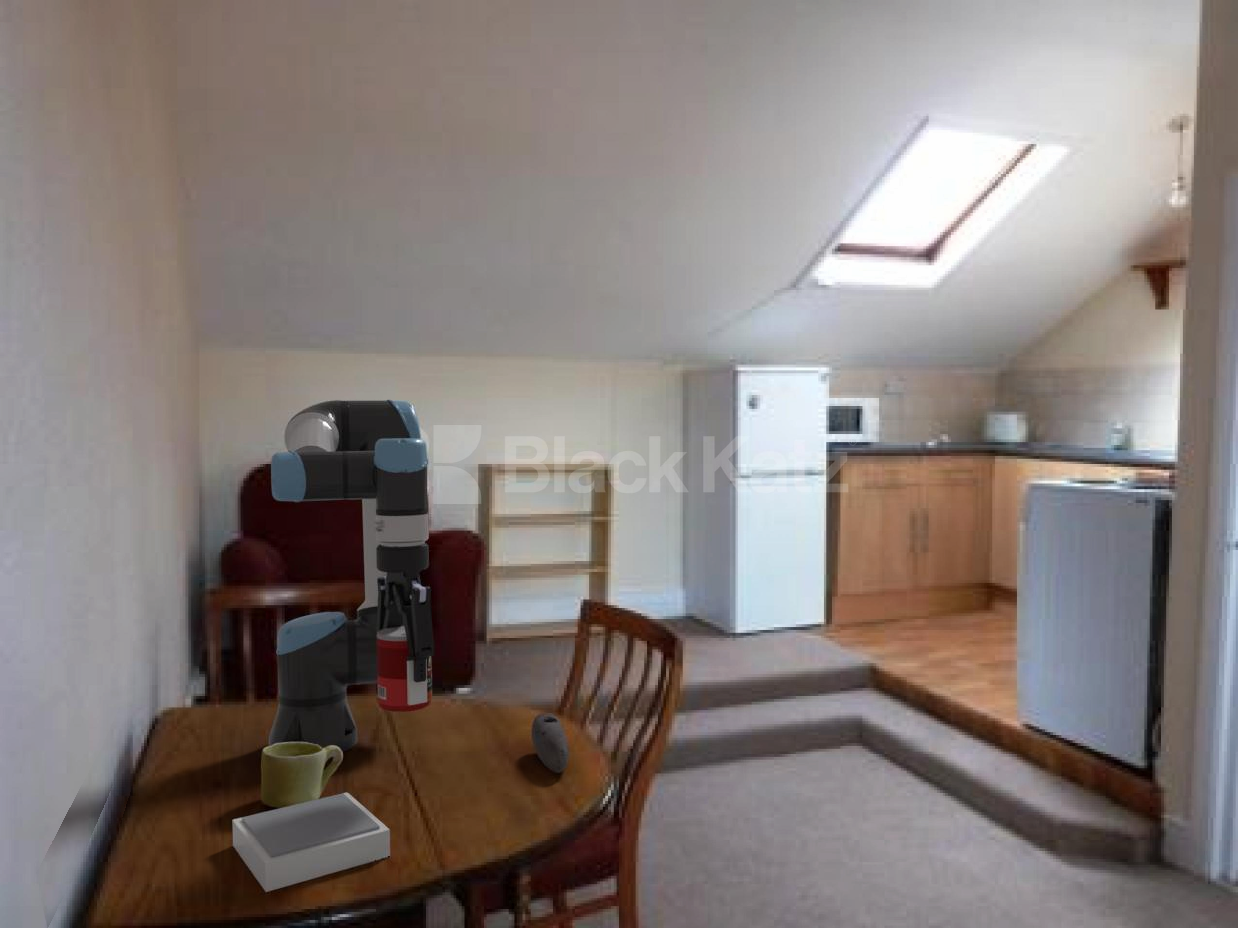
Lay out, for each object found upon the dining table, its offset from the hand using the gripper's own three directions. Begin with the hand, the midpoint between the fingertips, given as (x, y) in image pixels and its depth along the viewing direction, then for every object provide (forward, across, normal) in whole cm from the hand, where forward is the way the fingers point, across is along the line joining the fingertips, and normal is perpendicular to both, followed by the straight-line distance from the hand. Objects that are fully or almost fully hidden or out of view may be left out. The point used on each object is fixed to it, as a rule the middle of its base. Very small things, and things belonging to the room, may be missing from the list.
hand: (405, 696), depth 138 cm
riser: (+17, +4, -16) cm, 24 cm away
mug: (+18, -15, -10) cm, 25 cm away
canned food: (+2, 0, 0) cm, 2 cm away
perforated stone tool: (+18, -3, +28) cm, 33 cm away
